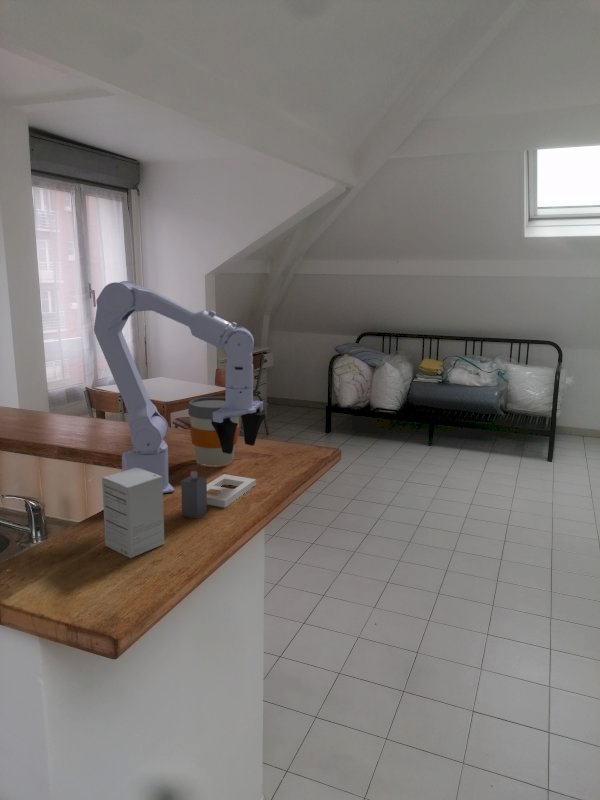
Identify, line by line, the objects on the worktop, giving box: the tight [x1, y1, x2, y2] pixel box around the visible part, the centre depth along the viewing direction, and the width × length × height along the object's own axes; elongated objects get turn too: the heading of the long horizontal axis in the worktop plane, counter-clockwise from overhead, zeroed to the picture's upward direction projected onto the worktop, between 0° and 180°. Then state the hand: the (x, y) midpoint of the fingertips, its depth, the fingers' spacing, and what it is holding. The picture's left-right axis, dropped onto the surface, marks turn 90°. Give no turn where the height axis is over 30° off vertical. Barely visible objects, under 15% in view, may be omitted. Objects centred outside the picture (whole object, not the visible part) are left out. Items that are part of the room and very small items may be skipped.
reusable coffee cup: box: [188, 396, 240, 465], centre depth 153 cm, size 13×13×15 cm
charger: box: [180, 470, 208, 519], centre depth 121 cm, size 4×4×8 cm
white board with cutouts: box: [207, 473, 257, 509], centre depth 133 cm, size 14×8×2 cm, turn 158°
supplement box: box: [101, 467, 165, 559], centre depth 107 cm, size 7×7×13 cm
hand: (238, 448), depth 134 cm, fingers open, 7 cm apart
